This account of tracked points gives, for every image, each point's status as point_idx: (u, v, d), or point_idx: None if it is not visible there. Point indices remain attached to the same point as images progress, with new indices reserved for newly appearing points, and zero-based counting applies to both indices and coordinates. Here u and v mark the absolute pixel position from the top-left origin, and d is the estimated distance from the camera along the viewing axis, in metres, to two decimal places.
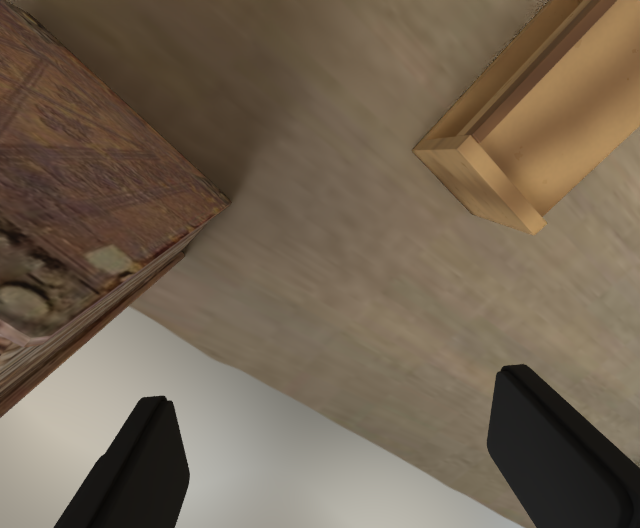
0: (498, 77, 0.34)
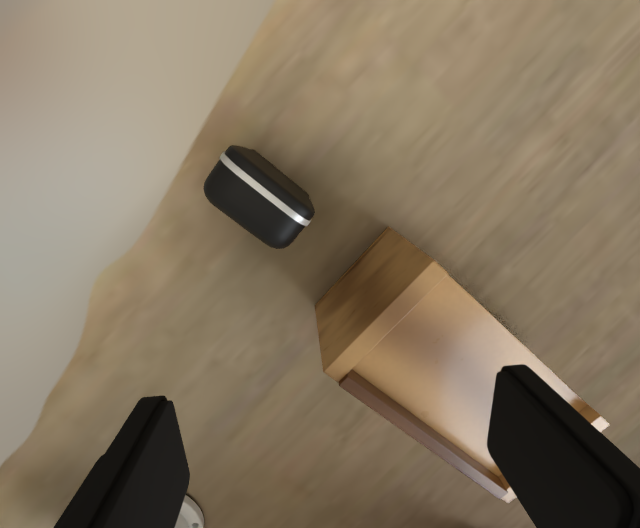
0: None
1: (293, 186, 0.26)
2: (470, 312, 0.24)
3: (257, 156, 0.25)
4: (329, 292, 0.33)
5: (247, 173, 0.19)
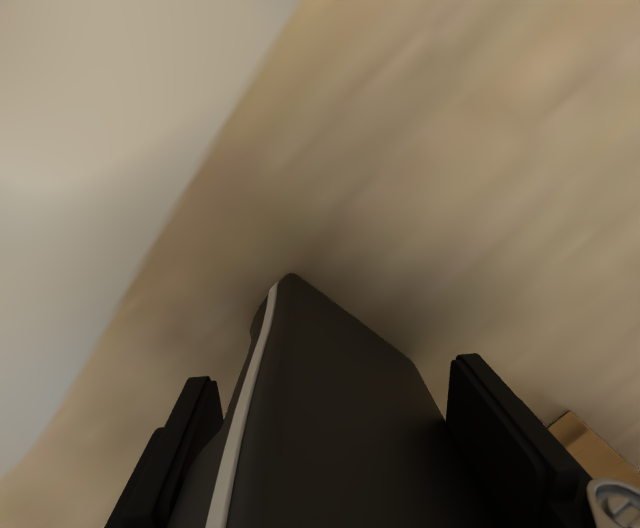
0: None
1: (426, 433, 0.08)
2: None
3: (322, 350, 0.08)
4: None
5: None
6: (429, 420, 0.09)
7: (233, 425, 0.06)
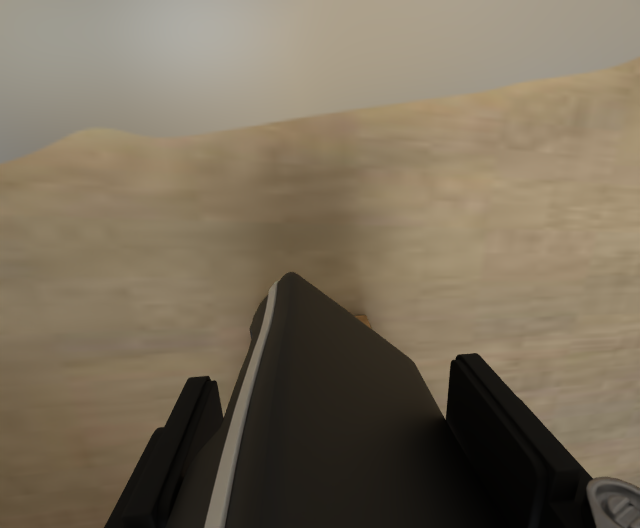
0: None
1: (427, 431, 0.08)
2: None
3: (321, 348, 0.08)
4: None
5: None
6: (429, 419, 0.09)
7: (233, 423, 0.06)
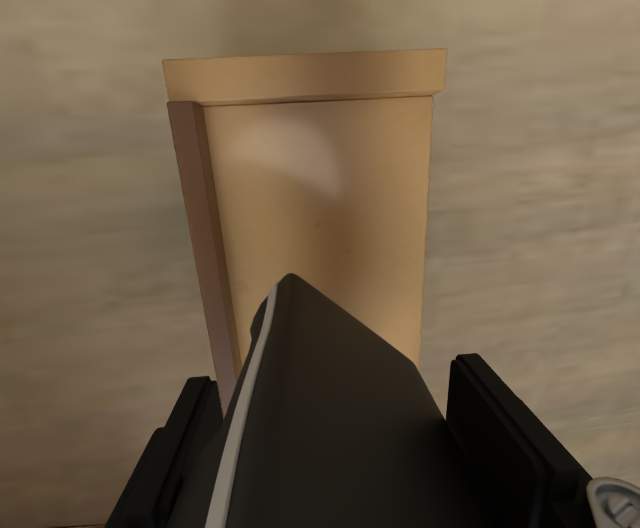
0: None
1: (427, 433, 0.08)
2: (409, 195, 0.16)
3: (322, 350, 0.08)
4: None
5: None
6: (429, 420, 0.09)
7: (233, 425, 0.06)
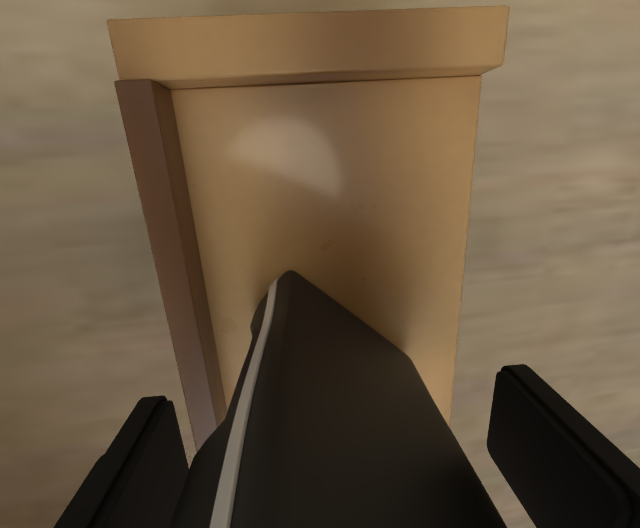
0: None
1: (422, 423, 0.09)
2: (445, 207, 0.12)
3: (321, 344, 0.08)
4: None
5: None
6: (425, 411, 0.10)
7: (237, 414, 0.06)
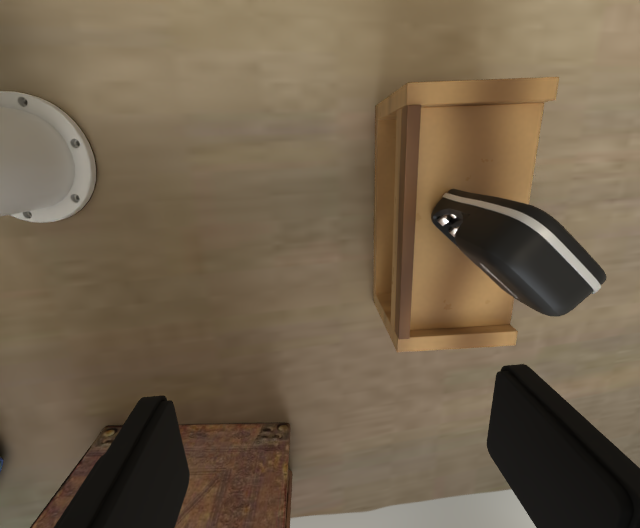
0: (388, 214, 0.36)
1: None
2: (524, 161, 0.26)
3: None
4: None
5: (559, 239, 0.17)
6: None
7: (483, 205, 0.20)
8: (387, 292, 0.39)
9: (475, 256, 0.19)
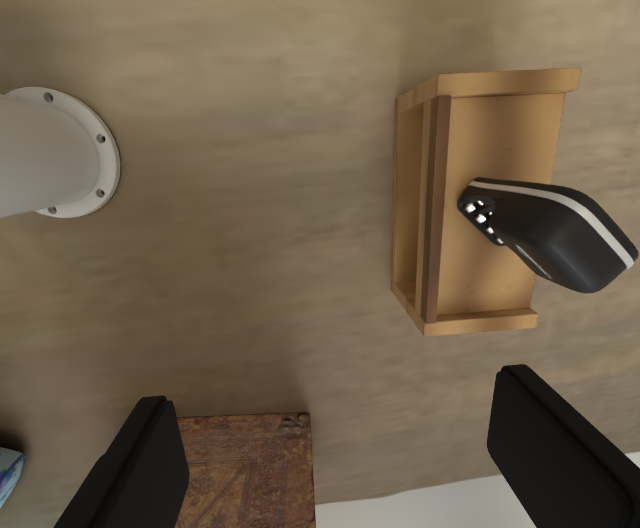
0: (407, 205, 0.37)
1: None
2: (546, 150, 0.28)
3: None
4: None
5: (597, 219, 0.18)
6: None
7: (517, 190, 0.21)
8: (406, 281, 0.40)
9: (512, 238, 0.20)
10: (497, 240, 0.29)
